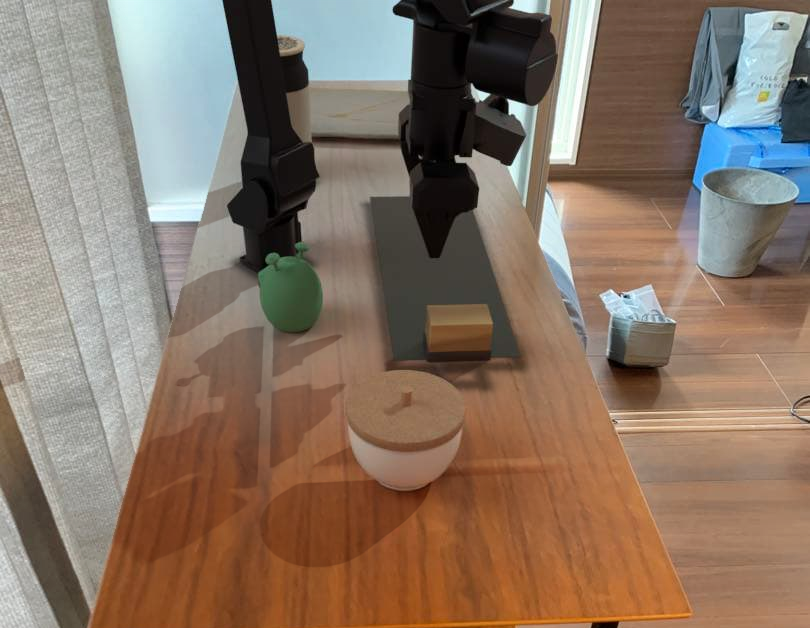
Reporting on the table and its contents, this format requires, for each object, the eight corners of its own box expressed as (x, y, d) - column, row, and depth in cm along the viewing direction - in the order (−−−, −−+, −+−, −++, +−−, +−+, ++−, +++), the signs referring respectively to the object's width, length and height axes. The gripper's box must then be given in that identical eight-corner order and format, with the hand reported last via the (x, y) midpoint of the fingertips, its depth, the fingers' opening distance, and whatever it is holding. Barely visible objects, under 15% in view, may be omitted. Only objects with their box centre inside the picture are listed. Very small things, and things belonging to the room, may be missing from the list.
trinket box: (373, 422, 84) (373, 343, 77) (474, 450, 81) (483, 370, 74) (328, 489, 77) (324, 408, 70) (437, 521, 74) (443, 441, 67)
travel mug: (316, 169, 125) (309, 35, 112) (310, 192, 119) (303, 54, 106) (263, 167, 125) (250, 32, 112) (255, 190, 119) (241, 51, 106)
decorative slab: (267, 142, 131) (266, 129, 130) (282, 94, 146) (281, 82, 144) (438, 148, 132) (439, 135, 130) (436, 100, 146) (436, 88, 145)
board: (519, 365, 91) (521, 356, 90) (393, 369, 90) (393, 360, 89) (467, 203, 118) (467, 195, 118) (369, 204, 117) (369, 196, 116)
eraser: (490, 360, 90) (495, 323, 86) (426, 362, 89) (428, 325, 86) (484, 339, 92) (489, 303, 89) (422, 341, 92) (424, 305, 89)
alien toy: (292, 304, 99) (286, 223, 91) (337, 329, 95) (334, 247, 88) (246, 326, 95) (236, 244, 88) (291, 353, 92) (284, 270, 84)
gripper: (545, 118, 72) (518, 281, 83) (509, 46, 84) (490, 196, 96) (417, 116, 71) (408, 281, 82) (400, 43, 83) (395, 196, 95)
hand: (430, 235), depth 89 cm, fingers open, 9 cm apart
